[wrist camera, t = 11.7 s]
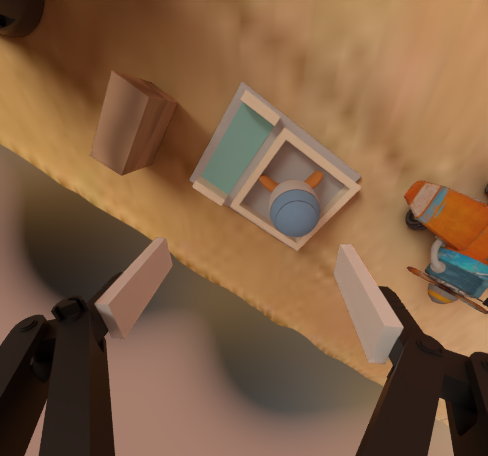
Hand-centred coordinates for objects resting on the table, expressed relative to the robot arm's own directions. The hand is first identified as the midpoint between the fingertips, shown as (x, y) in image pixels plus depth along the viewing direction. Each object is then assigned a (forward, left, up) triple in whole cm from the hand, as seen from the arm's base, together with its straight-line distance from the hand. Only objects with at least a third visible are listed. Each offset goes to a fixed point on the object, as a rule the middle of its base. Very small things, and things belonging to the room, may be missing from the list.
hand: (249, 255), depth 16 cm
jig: (+1, +1, -25) cm, 25 cm away
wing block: (-21, -4, -25) cm, 33 cm away
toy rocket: (+6, 0, -24) cm, 24 cm away
